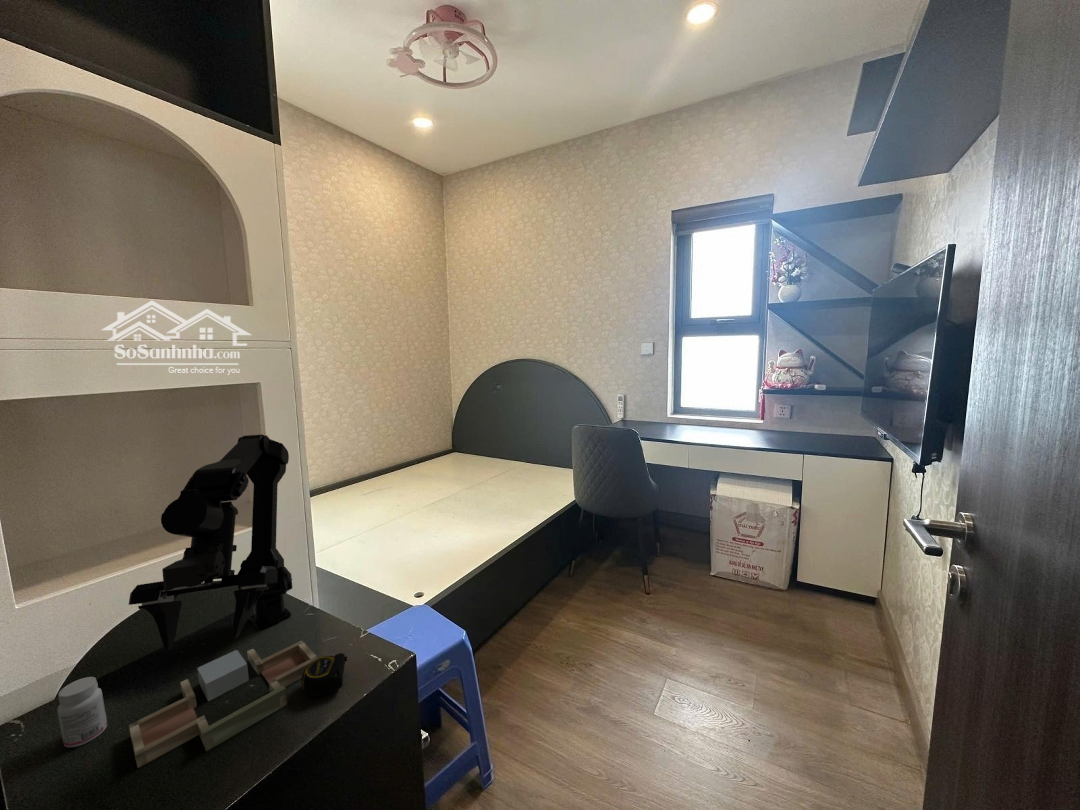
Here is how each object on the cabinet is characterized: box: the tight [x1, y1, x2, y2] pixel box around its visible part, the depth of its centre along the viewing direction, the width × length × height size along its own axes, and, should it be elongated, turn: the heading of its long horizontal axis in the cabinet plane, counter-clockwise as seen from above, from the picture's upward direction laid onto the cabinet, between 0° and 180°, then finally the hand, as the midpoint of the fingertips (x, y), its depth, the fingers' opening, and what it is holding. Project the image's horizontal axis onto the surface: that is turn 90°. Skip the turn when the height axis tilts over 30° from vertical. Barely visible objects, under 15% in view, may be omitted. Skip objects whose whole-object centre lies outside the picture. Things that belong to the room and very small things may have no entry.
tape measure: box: [301, 652, 348, 697], centre depth 75 cm, size 7×7×4 cm
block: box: [197, 649, 250, 702], centre depth 76 cm, size 6×6×4 cm
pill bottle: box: [57, 676, 108, 748], centre depth 66 cm, size 5×5×8 cm
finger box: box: [128, 640, 319, 769], centre depth 73 cm, size 18×25×3 cm
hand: (202, 643), depth 66 cm, fingers open, 9 cm apart
